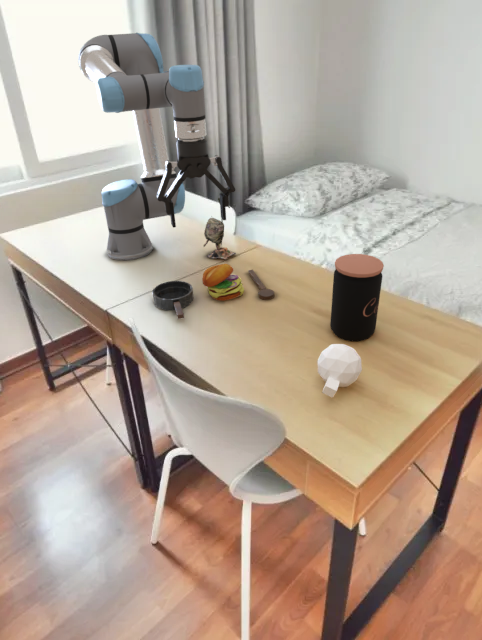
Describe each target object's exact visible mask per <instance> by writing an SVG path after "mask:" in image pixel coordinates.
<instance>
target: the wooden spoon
mask: <svg viewBox="0 0 482 640" xmlns="http://www.w3.org/2000/svg"><path fill="white" fill-rule="evenodd" d="M248 275H249V277H250V278H251V279H252V281H253V283H254V284H255V285H256V287H257V289H258V290H259V291H258V294H257V295H258V298H259V299H261V300H265V301H269V300H272V299H274V298H275V291H274V289H271V288H267V287H266V286H265V285H264V283H263V281H262V280H261V279H260V278H259V276H258V275H257V273H256V272H255V271H254V269H248Z"/></svg>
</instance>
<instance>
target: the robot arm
mask: <svg viewBox="0 0 482 640" xmlns="http://www.w3.org/2000/svg"><path fill="white" fill-rule="evenodd" d="M77 62H78V67H79V69H80V71H81V73H82V74H83V75H84V77H85V78H86V79H87V80H89V81H91V82H93V83H95V88H96V95H97V100H98V104H99V106H100V109H101V110H102V111H103V112H104V113H108V114H110V113H116V114H120V113H124V112H125V113H126V112H132V115H133V120H134V126H135V132H136V136H137V141H138V147H139V151H140V156H141V160H142V161H141V162H142V166H143V173H142V174H141V176H140V181H141V183H138V182H137V181H136V180H135V179H130V178H128V179H120V180H116V181H113V182H111V183H109V184H107V185H106V186H104V187H103V188H102V191H101V201H102V202H101V203H102V206H103V209H104V214H105V215H104V216H105V220H106V225H107V230H108V237H107V245H106V252H107V256H108V258H110V259H112V260H116V261H133V260H138V259H141V258H144V257H147V256H148V255H150V254H151V253H152V252H153V249H154V248H153V242H152V241H151V239H150V237H149V235H148V233H147V230H146V229H145V226H144V225H145V224H144V220H150V219H156V218H161V217H167V216H169V217H170V223H171V226H172V228H173V229H174V228H176V227H177V224H176V216H175V215H176V214H177V215H178V214H180V213H182V212H183V210H184V209H185V203H186V189H185V185H184V182H185V181H186V179H187V178H188V179H195V178H199V179H201V178H203V176H206V177H207V179H209V181H211V182H212V183H213V184H214V186H215V187H217V188H218V190H220V193H219V197H220V204H219V208H220V219H221V218H222V219H223V221H227V211H226V209H227V208H229V207H230V199H229V198H230V197H229V196H230V194H232V193H235V192H236V188H235V186H234V184H233V182H232V180H231V178H230V177H229V175H228V173H227V172H226V170H225V168H224V166H223V162H222V157H220V156H219V155H218V154H215V155H214V156H212V157H210V156H209V147H208V146H209V145H208V139H207V137H206V136H207V133H208V131H207V121H206V105H205V104H206V103H205V90H204V88H205V87H204V85H205V81H204V77H203V70H202V68H201V66H200V65H199V64H177V65H171V66H170V67H169V69H168V71H167V70H165V71H164V60H163V55H162V52H161V49H160V46H159V44H158V41H157V40H156V38H155V37H154V35H152V34H150V33H143V32H142V33H141V32H134V33H132V32H131V33H118V34H100V35H97V36H94V37H92V38H90V39H89V40H87V41H86V42H85V43H84V44H83V45H82V47H81V48H80V50H79V53H78V61H77ZM162 108H172V114H173V124H174V134H175V138H176V141H175V145H176V154H177V160H176V161H170V158H169V152H168V146H167V141H166V135H165V129H164V124H163V119H162V113H161V109H162ZM211 164H212V165H213V166H214V167H216V169H217V170H218V172H219V174H220V176H221V178H222V180H223V181H224V183H225V185H226V187H225V186H224V185H223V184H222V183H221V182H220V181H219V180H218V179H217V178H216V177H215V176H214V175H213V174H212V173H211V171H209V168H210V165H211ZM175 168H177V169H178V170H179V172H178V174H177V172H176V171H175ZM228 206H229V207H228Z"/></svg>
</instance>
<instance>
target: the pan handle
mask: <svg viewBox="0 0 482 640" xmlns="http://www.w3.org/2000/svg"><path fill="white" fill-rule="evenodd" d="M173 304H174V308H175V310H174V313H175V314H176V318H177V320H181V319H182V320H183V319H185V314H184V312H183V308H181V305H180V302H179V301H178V302H173Z"/></svg>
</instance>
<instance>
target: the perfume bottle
mask: <svg viewBox="0 0 482 640" xmlns="http://www.w3.org/2000/svg"><path fill="white" fill-rule="evenodd" d="M317 358H318V359H317V361H316V363H317V374H318V375H319V376H320V377H321V378H322V380H323V382H325V384H324V386H323V388H322V391H321V393H322V394H323V395H326V396H327V397H330V398H334V396H335V395H336V393H337V391H338V389H339V388H347V387H349V386H351V385H353V383H355V382H356V381H357V380H358V378H359V376H360V374H361V373H362V371H363V366H362V357H361V355H360V354H358V352H357V351H356V349H355V348H354V347H351V346H349V345H347V344H345V343H331V344H330V345H328V346H327V347H325V349H323V350H322V351H321V352H320V354H319V356H318V357H317Z"/></svg>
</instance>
